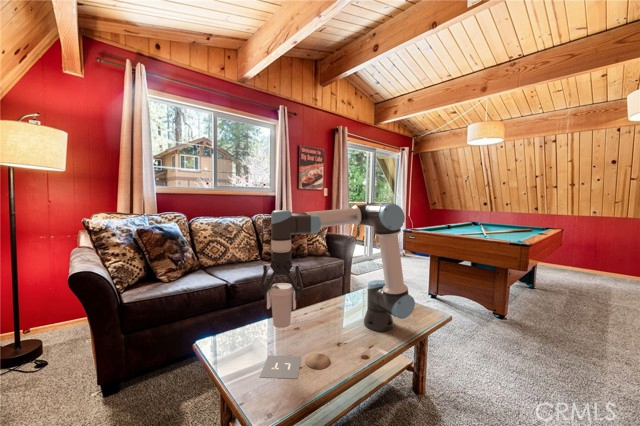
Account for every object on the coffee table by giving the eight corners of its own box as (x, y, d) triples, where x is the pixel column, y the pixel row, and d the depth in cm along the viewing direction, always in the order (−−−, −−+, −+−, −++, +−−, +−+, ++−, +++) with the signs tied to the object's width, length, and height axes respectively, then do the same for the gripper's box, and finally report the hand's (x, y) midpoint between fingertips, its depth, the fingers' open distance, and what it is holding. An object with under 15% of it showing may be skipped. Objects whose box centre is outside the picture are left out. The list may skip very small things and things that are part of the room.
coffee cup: (270, 319, 111) (270, 282, 110) (294, 318, 111) (294, 282, 111) (268, 330, 101) (267, 290, 100) (294, 329, 102) (294, 290, 101)
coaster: (330, 354, 115) (330, 353, 115) (330, 369, 105) (330, 368, 105) (306, 354, 116) (306, 353, 116) (304, 368, 106) (304, 367, 106)
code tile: (301, 356, 114) (301, 356, 114) (297, 378, 100) (297, 378, 100) (268, 355, 114) (268, 355, 114) (259, 377, 100) (259, 377, 100)
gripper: (310, 249, 108) (310, 304, 109) (255, 248, 109) (256, 303, 110) (309, 252, 100) (309, 312, 102) (250, 252, 101) (250, 311, 103)
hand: (281, 307), depth 106 cm, fingers closed on coffee cup, 9 cm apart
